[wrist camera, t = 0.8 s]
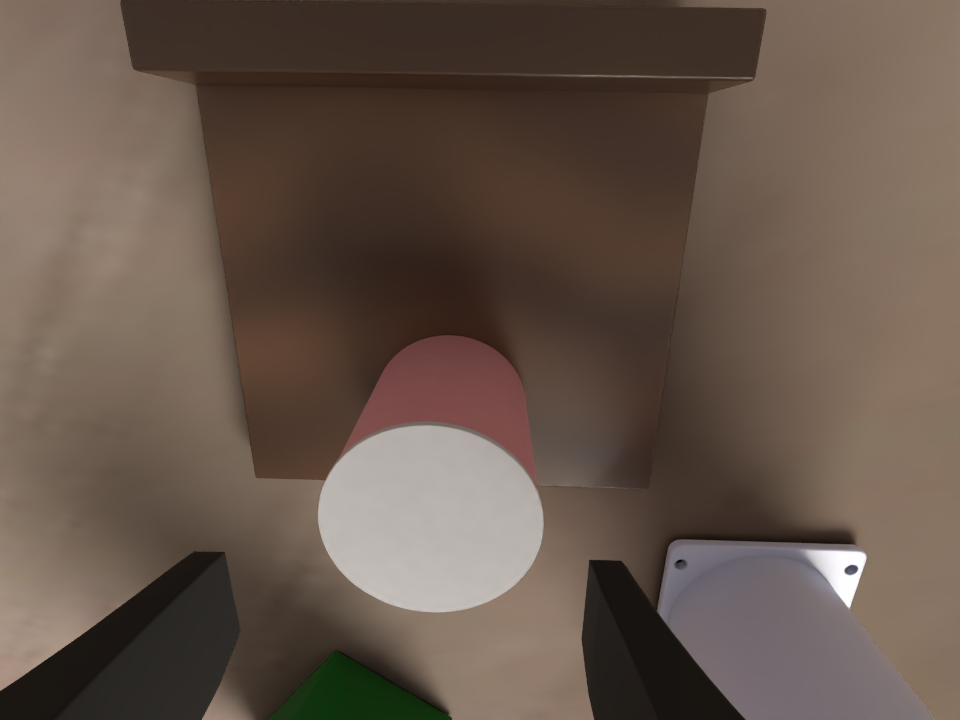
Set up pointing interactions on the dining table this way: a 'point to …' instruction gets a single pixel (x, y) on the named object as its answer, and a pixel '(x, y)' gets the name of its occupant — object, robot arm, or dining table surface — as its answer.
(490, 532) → the yogurt pot
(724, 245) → the dining table surface
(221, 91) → the serving board
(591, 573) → the robot arm
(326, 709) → the milk carton
